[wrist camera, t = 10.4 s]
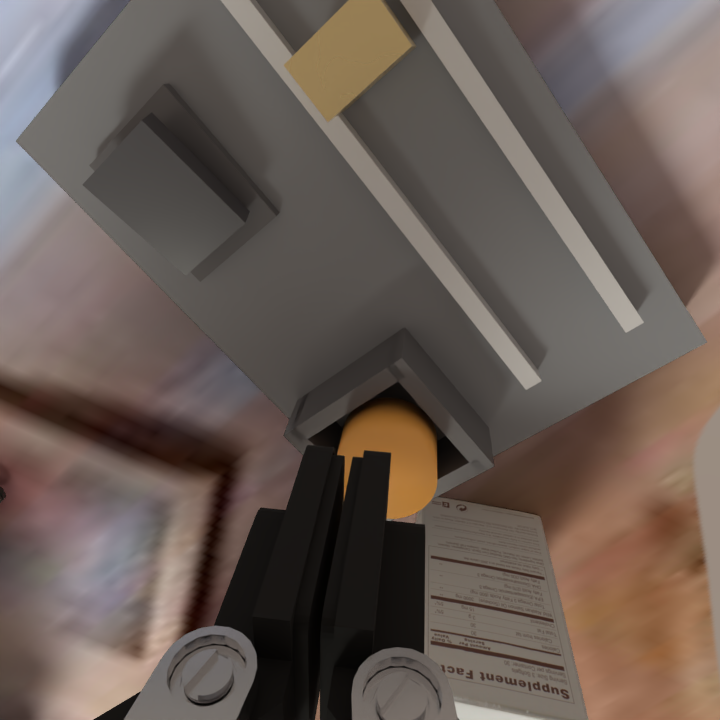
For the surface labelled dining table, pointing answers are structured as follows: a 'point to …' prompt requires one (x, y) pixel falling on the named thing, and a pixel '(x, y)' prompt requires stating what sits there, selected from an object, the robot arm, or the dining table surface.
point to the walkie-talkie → (2, 494)
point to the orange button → (395, 450)
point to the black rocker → (167, 195)
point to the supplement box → (496, 614)
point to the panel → (381, 221)
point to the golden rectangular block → (349, 55)
